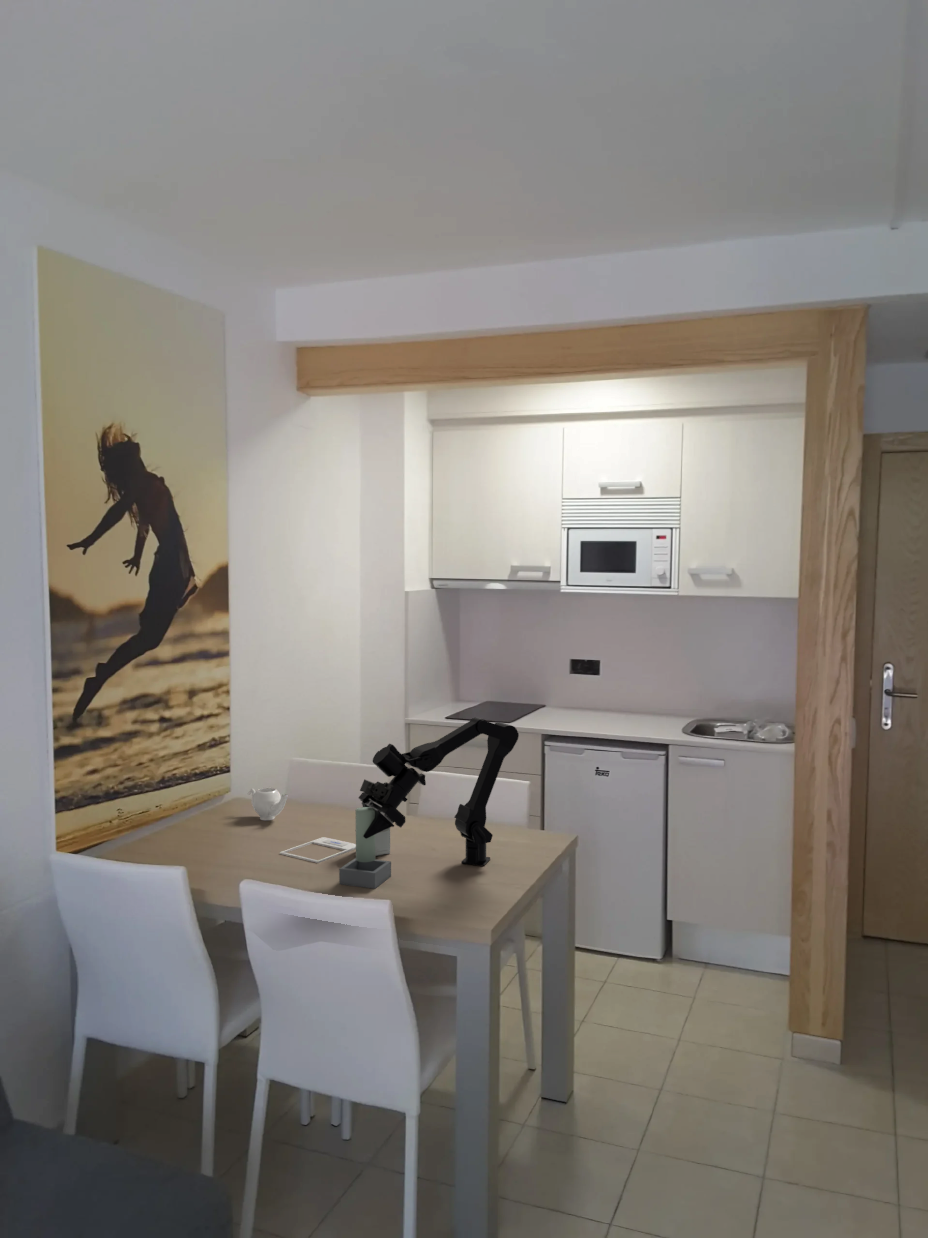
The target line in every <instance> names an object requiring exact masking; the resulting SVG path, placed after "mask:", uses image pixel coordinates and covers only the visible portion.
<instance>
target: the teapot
mask: <svg viewBox="0 0 928 1238" xmlns="http://www.w3.org/2000/svg"><path fill="white" fill-rule="evenodd" d="M247 795H248V796H249V795H251V805H252V808H253V811H255V812H256V813H257V815H259V820H261V821H272V820H274V819H276V816H278V815H280V813H281V812H282V811H283V810H284V808H285V805H286V802H287V800H288V796H289V795H288V794H285V793H284V794H280V792H279V790H278V789H276V788H274V787H263V788H259V789H257V790H255V788H250V789H249V791H248V793H247Z"/></svg>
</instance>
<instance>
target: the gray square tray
mask: <svg viewBox="0 0 928 1238" xmlns="http://www.w3.org/2000/svg"><path fill="white" fill-rule="evenodd" d="M338 869H339V871H338V873H339V875H338V878H339V879H338V880H339V881H338V882H339V883H338V884H339V885H341V886H342V885H343V886H350V887H351V886H352V887H359V888H366V889H374V890H376V889H377V888H378V887H380V886H381V885H382V884H383V883H385V881H387V880H388V879H390V878H391V877H392V861H390V860H384V859H383V860H382V859H375V860H374V861H371V862H358V861H356V857H355V858H354V859H352V860H350V861H349V862H347V863H346V864H344V865H343V866H342V867H340V868H338Z"/></svg>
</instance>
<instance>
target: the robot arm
mask: <svg viewBox="0 0 928 1238" xmlns="http://www.w3.org/2000/svg"><path fill="white" fill-rule="evenodd" d="M480 735H486V736H487V740H486V743H487V744H486V745H487V752H486V753H487V754H486V755H485V758H484V761H483V763H482V765H481V766H482V767H481V768H480V771H479V774H478V776H477V780H476V782H475V784H474V788H473V790H472V792H471V795H470V798H469V799H468V801H467V802H466V803H465V804H462V803H460V804H459V806H458V808H457V813H456V814H455V815H454V817H453V818H454V820H455V821H454V825H455V827H456V830H457V831H458V832H459V834H460V836H461V837H462V838H465V857H464V858H463V859H462V860H461V861H460V862H461V864H465V865H473V866H474V865H475V866H485V865H486V864H487V863H488V862H490V860H491V857H489V856H487V844H488V843H492V842H491V841H492V839H493V836H494V835H493V834H492V833H491V831H489V830H488V829H487V828H486V822H487V805H488V802H489V800H490V797H491V795H492V791H493V789H494V787H495V785H496V781H497V779H498V775H499V773H500V770H501V768H502V764H503V763H504V760H505V759H506V757H507V756H508V755H509V754H510V753H511V752H512V751H513V749H514V747H515V746H516V744H517V743H518V740H519V737H520V735H519V732H518V729H517V728H516V726H514V725H512V724H508V723H504V722H502V721H501V722H500V721H499V722H495V723H493V722H491V721H488V720H486V719H484V718H480V717H474V718H471V719H469V721H467V722H466V723H464V724H462V725H461V726H459V727H458V728H456V729H454V730H453V731H451V732H449V733H448V734H445V735H444V736H443V737H441V738H439V739H437V740H435V741H431V742H426V743H424V744H421V745H418V746H416V747H414V748H412V749H411V750H410V751H408V752H405V753H404V752H403V753H401V752H400V751H399V750H398V749H397V748H396V746H395V745H394V744H392V743H388V744H387V746H384V747H383V748H381V749H380V750H378V751H376V752H375V754H374V756H372V757H373V758H372V764H373V765H375V766H376V767H377V768H378V769H379V770H380V771H381V772H382V773H383V774H384V775H385V776H386V777H393V778H392V779H391V780H390V781H389V783H388V782H386V781H385V782H380V781H376V782H373V781H370V780H367V779H364V780H363V782H362V784H361V787H360V789H359V791H360V792H361V794H360V795H359V796H358V799H359V800H360V801H361V806H362V807H371V808H374V809H375V818H374V820H373V821H372V823H371V824H370V826H369V827H368V829H367V830H366V832H365V834H364V835H363V837H364V838H366V839H367V838H369V837H371V836H373V835H375V834H377V833H379V832H381V831H383V830H386V829H388V828H390V829H391V828H394V827H395V826H397V827H399V828H400V829H402V827H403V826H404V825H405V823H406V816H405V815H404V814H403V813H401V812H400V810H398V807H399V806H400V805H401V803H402V802H404V803H406V802H407V801H408V797H407V796H408V795H409V794H410V793H411V791H412V790H413V789H414V787H415V786H416V785H417V784H419V785H422V786H426V785H427V782H426V774H424V773H422V772H425V773H428V772H429V773H430V772H431V771H433V770H434V769H435V768H436V767H437V766H438V765H440V764H441V763H442V762H443V761H444V759H445V757H446V756H447V755H449V754H451V753H452V752H454V751H456V750H457V749H459V748H461V747H462V746H464V745H466V744H467V743H469V742H470V741H472V740H473V739H475V738H477V737H478V736H480ZM407 765H408V766H410V767H408V766H407ZM416 769H418V770H419V771H422V772H421V773H419V772H418V771H417V770H416ZM380 812H381V813H380ZM394 823H395V824H394ZM355 832H356V829H355Z"/></svg>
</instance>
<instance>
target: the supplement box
mask: <svg viewBox="0 0 928 1238" xmlns="http://www.w3.org/2000/svg"><path fill="white" fill-rule="evenodd" d="M380 813H381V812H380ZM388 854H391V827H390V828H388V829H386V830H383V831H381V832H379V833H377V834H375V857H377V856H383V855H388Z"/></svg>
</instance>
